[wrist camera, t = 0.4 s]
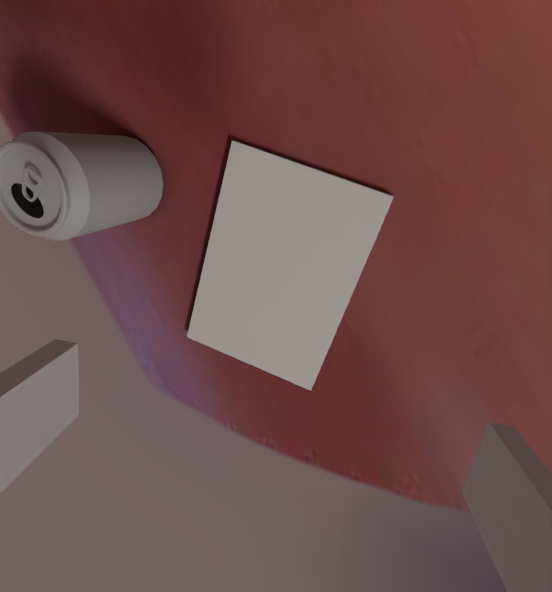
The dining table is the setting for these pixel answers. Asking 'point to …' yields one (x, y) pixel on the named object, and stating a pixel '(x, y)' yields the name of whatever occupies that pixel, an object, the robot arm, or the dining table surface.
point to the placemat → (282, 262)
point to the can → (76, 182)
